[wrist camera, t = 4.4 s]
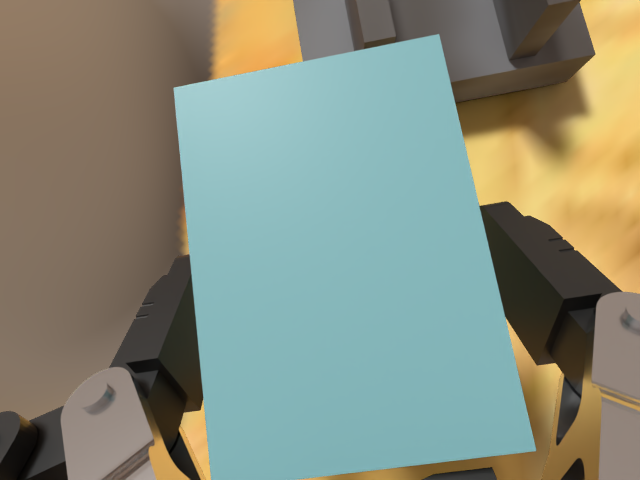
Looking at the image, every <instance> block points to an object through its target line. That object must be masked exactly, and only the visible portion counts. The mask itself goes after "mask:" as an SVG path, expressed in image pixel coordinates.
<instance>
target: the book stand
mask: <svg viewBox="0 0 640 480" xmlns="http://www.w3.org/2000/svg"><path fill="white" fill-rule="evenodd" d="M580 1H581V0H293V2H294V9H295V15H296V21H297V27H298V33H299V40H300V46H301V52H302V58H303V62H304V61H309V60H313V59H318V58H323V57H328V56H333V55H338V54H343V53H348V52H353V51H358V50H363V49H368V48H373V47H378V46H383V45H387V44H392V43H397V42H402V41H407V40H412V39H417V38H422V37H427V36H432V35H437V34H439V36H440V40H441V44H442V49H443V53H444V57H445V62H446V66H447V70H448V74H449V79H450V83H451V87H452V92H453V96H454V100H455V103H456V102H461V101H467V100H472V99H477V98H483V97H488V96H493V95H498V94H504V93H509V92H514V91H520V90H525V89H530V88H536V87H541V86H546V85H552V84H557V83H562V82H566V81H567V80H568V79H570V78H571V77H572V76H573V75H574V74H575V73H576V72H577V71H578V70H579V69H580V68H581V67H582V66H583V65H585V64H586V63H587V62H588V61H589V60H590V59H591V58H592V57H593V56H594V55H595V51H594V48H593V45H592V42H591V38H590V35H589V32H588V29H587V25H586V22H585V19H584V16H583V13H582V9H581V6H580V3H579V2H580Z"/></svg>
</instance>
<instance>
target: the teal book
mask: <svg viewBox="0 0 640 480" xmlns="http://www.w3.org/2000/svg"><path fill="white" fill-rule="evenodd" d="M174 97H175V107H176V117H177V128H178V138H179V149H180V159H181V170H182V180H183V190H184V201H185V211H186V222H187V232H188V243H189V253H190V263H191V274H192V284H193V295H194V305H195V316H196V326H197V336H198V347H199V357H200V368H201V378H202V388H203V399H204V409H205V420H206V430H207V441H208V451H209V461H210V472H211V480H297V479H305V478H314V477H322V476H330V475H339V474H347V473H356V472H364V471H372V470H381V469H389V468H398V467H406V466H414V465H423V464H431V463H440V462H448V461H456V460H465V459H473V458H482V457H490V456H498V455H507V454H515V453H524V452H532V451H536V447H535V443H534V438H533V434H532V430H531V425H530V421H529V417H528V413H527V408H526V404H525V400H524V395H523V391H522V387H521V383H520V378H519V374H518V370H517V366H516V361H515V357H514V353H513V348H512V344H511V340H510V336H509V331H508V327H507V323H506V318H505V314H504V310H503V306H502V301H501V297H500V293H499V288H498V284H497V280H496V276H495V271H494V267H493V263H492V258H491V254H490V250H489V246H488V241H487V237H486V233H485V229H484V224H483V220H482V216H481V211H480V207H479V203H478V199H477V194H476V190H475V186H474V181H473V177H472V173H471V169H470V164H469V160H468V156H467V151H466V147H465V143H464V139H463V134H462V130H461V126H460V122H459V117H458V113H457V109H456V104H455V100H454V96H453V92H452V87H451V83H450V79H449V74H448V70H447V66H446V62H445V57H444V53H443V49H442V44H441V40H440V36H439V34H437V35H432V36H427V37H422V38H417V39H412V40H407V41H402V42H397V43H392V44H387V45H383V46H378V47H373V48H368V49H363V50H358V51H353V52H348V53H343V54H338V55H333V56H328V57H323V58H318V59H313V60H309V61H304V62H299V63H294V64H289V65H284V66H279V67H274V68H269V69H264V70H259V71H254V72H249V73H244V74H239V75H234V76H230V77H225V78H220V79H215V80H210V81H205V82H200V83H195V84H190V85H185V86H180V87H175V88H174Z"/></svg>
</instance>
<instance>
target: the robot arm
mask: <svg viewBox="0 0 640 480" xmlns="http://www.w3.org/2000/svg"><path fill="white" fill-rule="evenodd" d="M479 207H480V211H481V216H482V220H483V224H484V229H485V233H486V237H487V241H488V246H489V250H490V254H491V258H492V263H493V267H494V271H495V276H496V280H497V284H498V288H499V293H500V297H501V301H502V306H503V310H504V314H505V317H506V318H507V320H508V322H509V323H510V325H511V326H512V328H513V329H514V331H515V332H516V334H517V336H518V337H519V339H520V340H521V342H522V343H523V345H524V346H525V348H526V349H527V351H528V353H529V354H530V356H531V357H532V359H533V360H534V362H535V363H536V365H544V364H551V363H556V364H557V365H558V367H559V368H560V370H561V371H562V374H561V376H560V379H559V385H558V392H557V399H556V407H555V414H554V421H553V428H552V436H551V443H550V449H549V454H548V458H547V462H546V464H545V467H544V470H543V474H542V478H541V480H640V294H637V293H631V292H622V291H621V290H620V289H619V288H618V287H617V286H616V285H614V284H613V283H612V282H611V281H610V280H609V279H608V278H607V277H606V276H605V275H603V274H602V273H601V272H600V271H599V270H598V269H597V268H596V267H595V266H594V265H592V264H591V263H590V262H589V261H588V260H587V259H586V258H585V257H584V256H583V255H581V254H580V253H579V252H578V251H575V250H574V247H573V246H572V245H570V244H569V243H568V242H567V241H566V240H563V239H562V238H563V237H562V236H561V235H559V234H558V233H557V232H556V231H555V230H554V229H553V228H552V227H551V226H550V225H548V224H546V223H544V222H542V221H540V220H538V219H536V218H534V217H531V216H523V215H522V214H521V213H520V212H519V211H518V210H517V209H516V208H515V207H514V206H513V205H511V204H510V203H509V202H500V203H494V204H488V205H482V206H479ZM142 305H143V306H142V307H140V309H139V312H138V313H137V315H136V319H134V321H133V323H132V325H131V327H130V329H129V330H128V332H127V334H126V336H125V338H124V340H123V342H122V344H121V346H120V348H119V350H118V352H117V354H116V356H115V358H114V359H113V362H112V363H111V365H110V367H109V368H107V369H105V370H102V371H100V372H97V373H96V374H94V375H92V376H91V377H89V378H88V379H86V380H85V381H84V382H83V383H82V384H81V385H79V386H78V387H77V388H76V390H75V391H74V392H73V393H72V394H71V396H70V397H69V398H68V400H67V402H66V403H65V405H64V406H62V407H60V408H58V409H55V410H53V411H51V412H48V413H46V414H44V415H41V416H39V417H37V418H35V419H32V420H30V421H28V420H26V419H25V418H23V417H22V416H20V415H18V414H17V413H15V412H11V411H6V412H1V413H0V480H206V478H205V476H204V474H203V472H202V470H201V467H200V465H199V463H198V461H197V459H196V457H195V454H194V452H193V450H192V448H191V446H190V443H189V441H188V439H187V437H186V435H185V432H184V430H183V429H182V427H181V426H180V424H181V420H182V417H183V413H184V412H192V411H199V410H201V406H202V401H203V388H202V378H201V368H200V357H199V347H198V336H197V326H196V316H195V305H194V295H193V284H192V274H191V263H190V254H189V255H183V256H178V257H177V258H176V259H175V260H174V262H173V265H172V267H171V269H170V271H169V273H168V275H164V276H162V277H161V278H160V279H159V280H158V281H157V282H156V283H155V284H154V285H153V286H152V288H151V289H150V290H149V292H148V294H147V296H146V298H145V299H144V302H143V303H142ZM423 480H497V478H496V476H495V473H494V471H493V469H492V467H490V468H482V469H474V470H465V471H457V472H449V473H440V474H433V475H431V476H429V477H427V478H425V479H423Z"/></svg>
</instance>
